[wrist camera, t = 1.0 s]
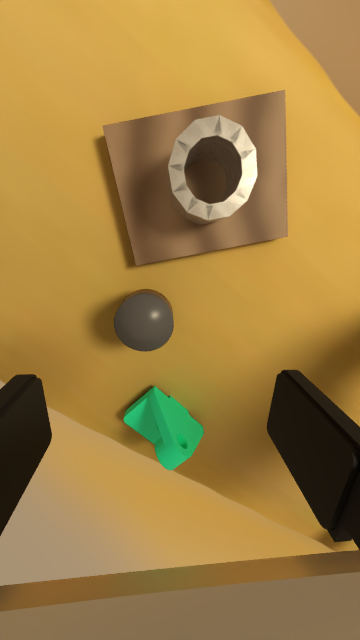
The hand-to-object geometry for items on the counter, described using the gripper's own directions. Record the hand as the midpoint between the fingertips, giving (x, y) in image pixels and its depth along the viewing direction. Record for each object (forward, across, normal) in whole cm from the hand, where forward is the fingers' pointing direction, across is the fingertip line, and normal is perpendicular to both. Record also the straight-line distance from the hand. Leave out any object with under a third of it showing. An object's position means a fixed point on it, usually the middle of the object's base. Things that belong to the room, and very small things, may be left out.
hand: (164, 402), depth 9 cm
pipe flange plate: (+25, -5, -12) cm, 28 cm away
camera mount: (+25, -1, +23) cm, 34 cm away
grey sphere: (+25, +2, +3) cm, 25 cm away
